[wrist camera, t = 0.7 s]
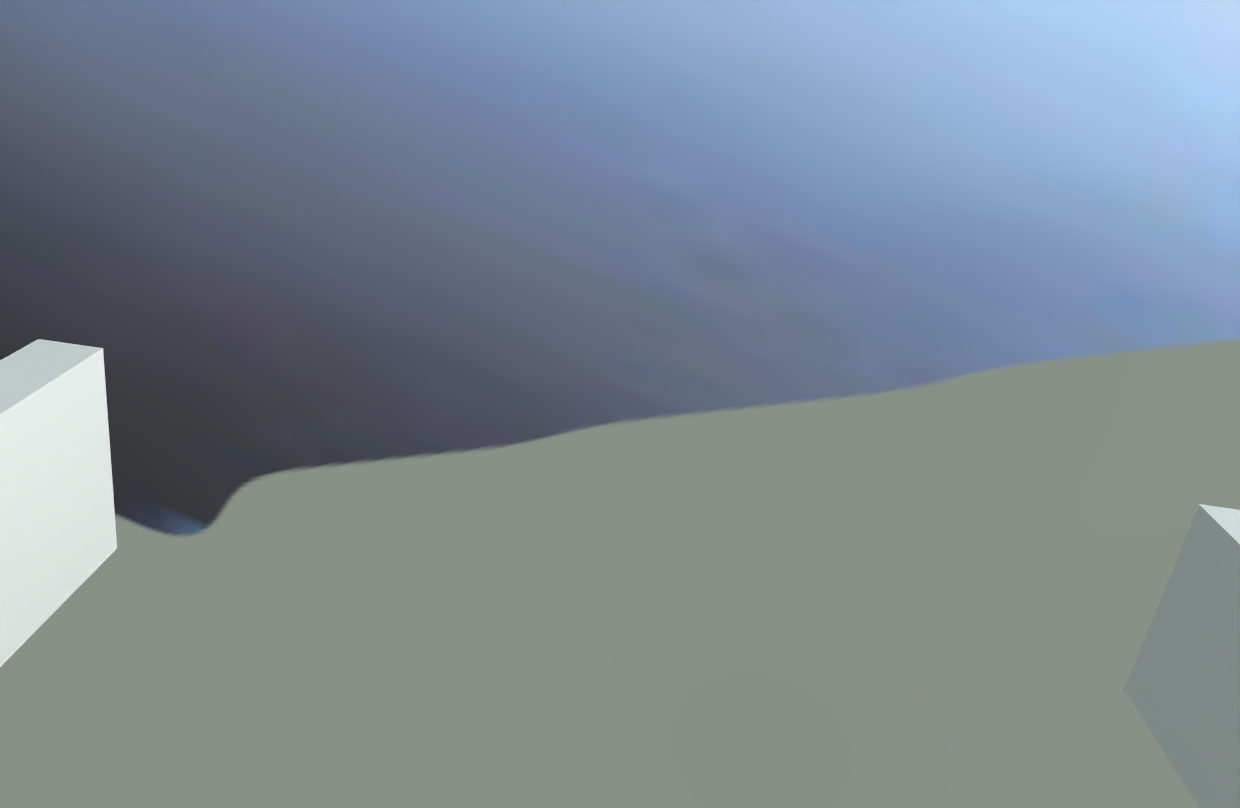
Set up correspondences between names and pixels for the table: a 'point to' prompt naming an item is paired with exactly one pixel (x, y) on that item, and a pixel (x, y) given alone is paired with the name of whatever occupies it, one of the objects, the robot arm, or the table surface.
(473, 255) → the table surface
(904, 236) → the table surface
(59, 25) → the table surface
